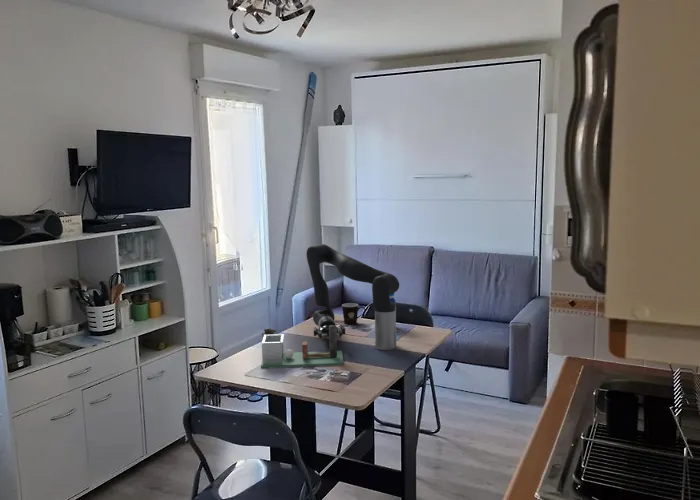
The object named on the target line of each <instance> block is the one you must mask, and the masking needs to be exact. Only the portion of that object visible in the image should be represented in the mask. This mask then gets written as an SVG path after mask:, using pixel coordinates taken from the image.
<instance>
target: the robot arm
mask: <svg viewBox="0 0 700 500" xmlns="http://www.w3.org/2000/svg"><path fill="white" fill-rule="evenodd" d="M306 260H307V264H308V268H309V273H310V276H311V280H312V285H313V292H314V302H315V305H316V306H318V307H324V308H326V309H321V310H315V311H314V312H313V314H312V321H313V322H314V324H315V325H316V326H318V327H315V326H314V327H313V337H318V338H320V339H322V338H323V336H325V337H329V326H330V325H336V322H335V314H334V311H333V309H332V306H331V302H330V292H329V288H328V284H327V282H326V281H325V279H324V277H323V275H322V272H321V269H320V268H321V266H320V265H321V264H324V263H326V264H329V265H333V266H335V268H336V269H337V271H338V273H340V275H342V276H344V277H345V278H347V279H350V280H352V281H356V282H361V283H368V284H371V291H372V292H371V293H372V304H373V306H374V344H375V349H377V350H381V351H389V350H390V351H391V350H396V349H397V324H396V325H395V306H396V304H394V303H392V302H390V297H389V295H390V294H393V293H394V294H395V293H396V292H398V290H399V289H400V282H399V279H398V278H397V277H396V276H395V275H393V274H392V273H389V272H385V271H383V270H379V269H376V268H374V267H372V266H370V265H367V264H366V263H364V262H361V261H360V260H357V259H355V258H352V257H351V256H349V255H346V254H343V253H341V252H340V251H337V250H335V249H333V248H332V247H331V246H329V245H327V244H324V243H319V244H314V245H310V246H309V247H307V249H306ZM336 327H337V336H339V338H341V337H342V336H343V335H346V328H345V326H344V325H341V326H336Z"/></svg>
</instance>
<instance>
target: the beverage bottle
mask: <svg viewBox="0 0 700 500" xmlns="http://www.w3.org/2000/svg"><path fill="white" fill-rule="evenodd" d="M394 296H395V293H393V294H390V295H389V297H390V302H392V303H394V304H395V325H396V326H397V324H396V323H397V312H396V311H397V305H396V303H397V302H396V299H395V297H394Z"/></svg>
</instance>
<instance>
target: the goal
mask: <svg viewBox="0 0 700 500" xmlns="http://www.w3.org/2000/svg"><path fill="white" fill-rule="evenodd" d="M275 334H276V335H264V337H262V341H261V356H262V357H261V359H262V361H261V363H262V362H263V364H280V363H282V355H284V352H285V350H284V340H285V334H284V333H283V334H278V333H275Z"/></svg>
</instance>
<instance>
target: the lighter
mask: <svg viewBox="0 0 700 500" xmlns="http://www.w3.org/2000/svg"><path fill="white" fill-rule="evenodd" d="M263 331H264V332H262V333H261V336H262V337H261V338H263V337H264V335H276V334H277V329H276V328H275V329H274V328H271V327H269V328H267V327H266V328H264V329H263Z"/></svg>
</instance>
